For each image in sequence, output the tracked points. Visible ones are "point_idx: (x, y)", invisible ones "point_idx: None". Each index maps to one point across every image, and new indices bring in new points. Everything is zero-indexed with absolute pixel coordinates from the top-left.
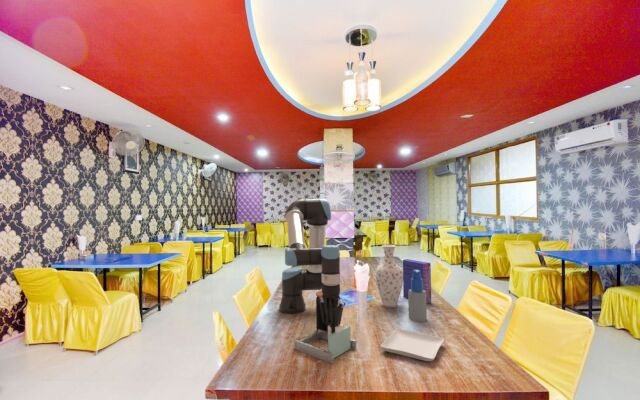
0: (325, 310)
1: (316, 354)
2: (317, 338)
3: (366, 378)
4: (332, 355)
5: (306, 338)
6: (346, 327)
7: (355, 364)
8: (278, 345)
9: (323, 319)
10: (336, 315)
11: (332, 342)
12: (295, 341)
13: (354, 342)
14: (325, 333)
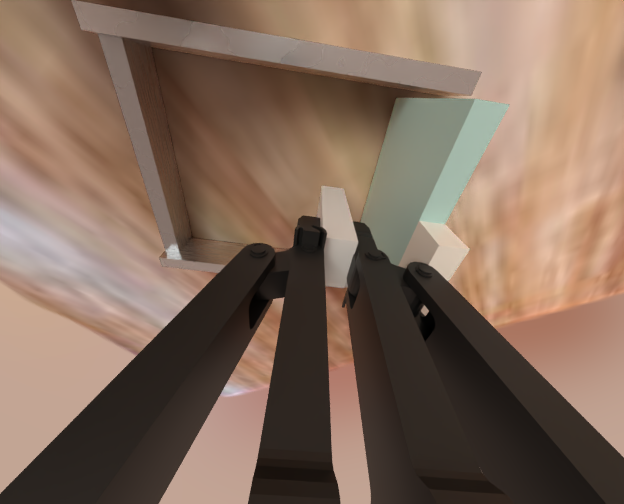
0: (204, 372)
1: None
2: (156, 83)
3: (508, 285)
4: None
5: (160, 195)
6: (464, 161)
7: (463, 232)
8: (111, 251)
9: (253, 312)
10: (458, 418)
11: None
12: (171, 265)
13: (463, 94)
14: (179, 47)
